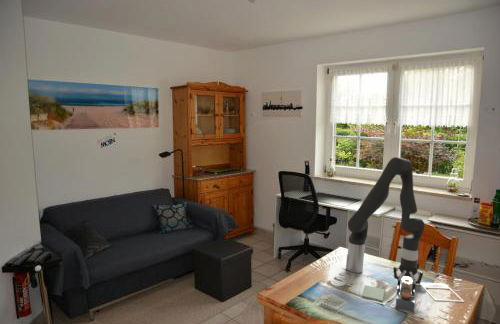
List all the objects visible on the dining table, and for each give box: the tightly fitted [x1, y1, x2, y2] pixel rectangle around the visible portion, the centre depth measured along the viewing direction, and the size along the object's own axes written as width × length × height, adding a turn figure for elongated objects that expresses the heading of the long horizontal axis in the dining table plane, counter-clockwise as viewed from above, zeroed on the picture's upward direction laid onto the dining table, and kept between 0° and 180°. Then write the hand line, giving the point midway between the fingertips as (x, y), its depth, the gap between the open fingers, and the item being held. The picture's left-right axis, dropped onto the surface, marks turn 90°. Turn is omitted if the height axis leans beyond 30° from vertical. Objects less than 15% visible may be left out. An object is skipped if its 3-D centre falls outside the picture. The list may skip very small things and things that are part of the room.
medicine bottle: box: [410, 261, 422, 286], centre depth 193 cm, size 7×7×12 cm
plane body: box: [395, 276, 416, 313], centre depth 174 cm, size 22×8×13 cm, turn 155°
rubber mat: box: [361, 284, 385, 303], centre depth 179 cm, size 10×12×1 cm
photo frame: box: [419, 282, 465, 303], centre depth 183 cm, size 15×1×18 cm
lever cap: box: [401, 276, 412, 293], centre depth 175 cm, size 8×5×5 cm, turn 155°
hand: (406, 288), depth 175 cm, fingers open, 5 cm apart
